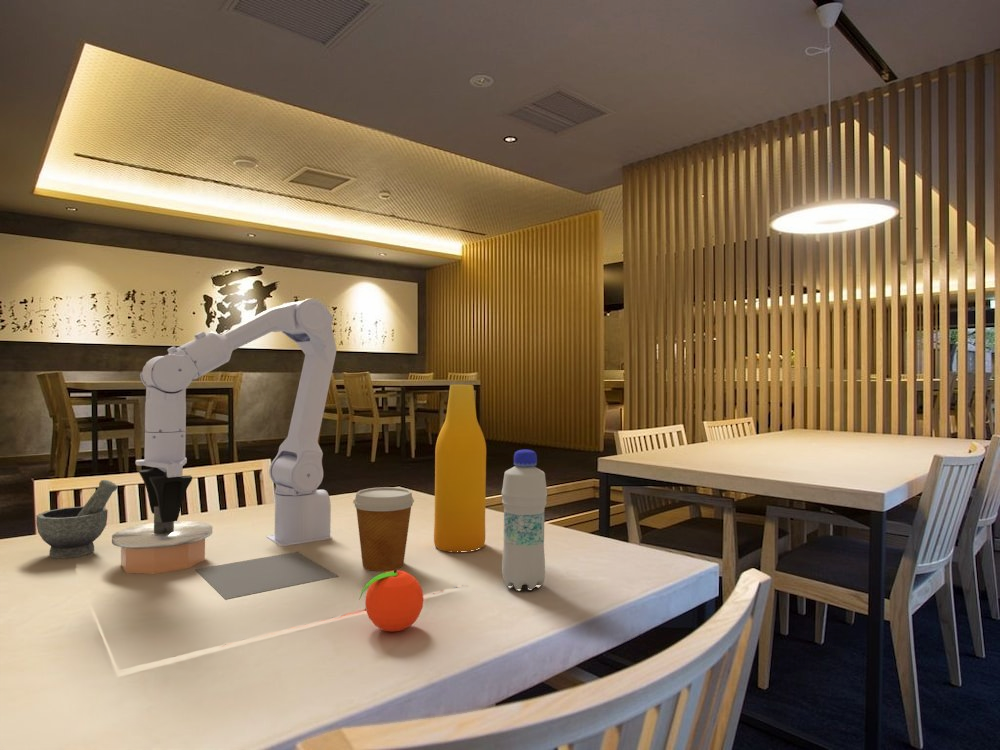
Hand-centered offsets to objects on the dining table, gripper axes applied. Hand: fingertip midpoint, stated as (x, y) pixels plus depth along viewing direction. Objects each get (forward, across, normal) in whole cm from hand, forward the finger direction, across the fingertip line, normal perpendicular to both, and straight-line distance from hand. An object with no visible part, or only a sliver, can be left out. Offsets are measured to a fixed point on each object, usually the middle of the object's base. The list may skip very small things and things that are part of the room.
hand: (164, 516), depth 98 cm
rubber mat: (+8, +15, +11) cm, 20 cm away
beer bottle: (+8, +19, +44) cm, 49 cm away
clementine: (+8, +44, +16) cm, 47 cm away
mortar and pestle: (+8, -16, -10) cm, 20 cm away
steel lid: (+3, 0, 0) cm, 3 cm away
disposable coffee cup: (+8, +22, +27) cm, 36 cm away
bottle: (+8, +42, +39) cm, 58 cm away
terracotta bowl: (+8, 0, 0) cm, 8 cm away
